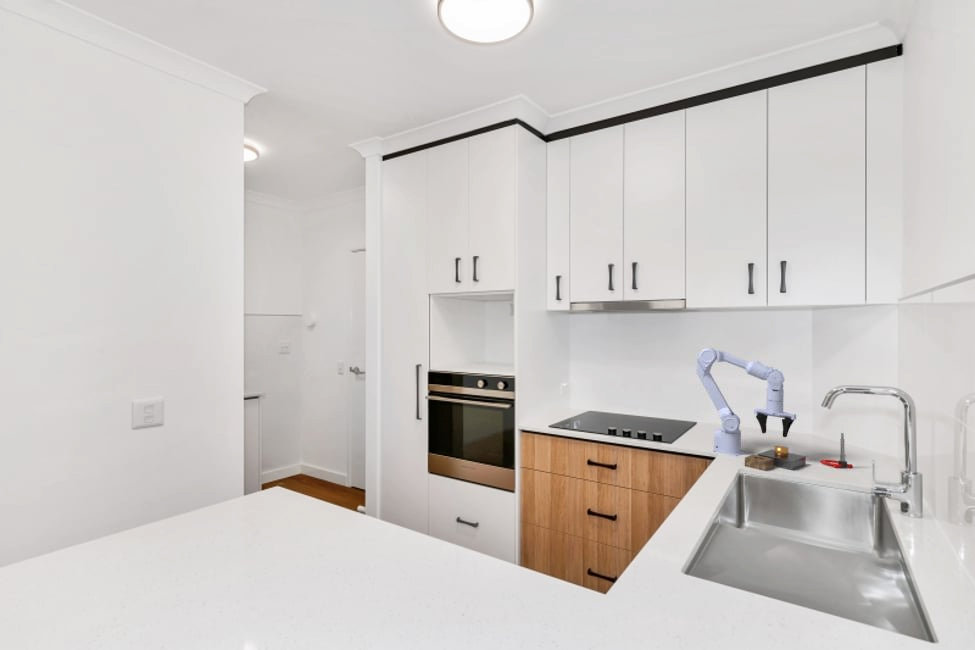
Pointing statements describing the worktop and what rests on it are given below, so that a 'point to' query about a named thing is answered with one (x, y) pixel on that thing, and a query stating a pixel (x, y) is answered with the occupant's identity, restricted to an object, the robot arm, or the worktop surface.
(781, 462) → the hitch block
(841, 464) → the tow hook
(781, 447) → the pin
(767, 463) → the block
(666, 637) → the worktop surface
